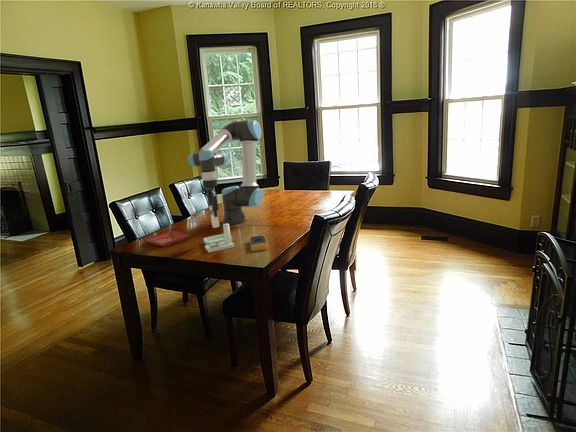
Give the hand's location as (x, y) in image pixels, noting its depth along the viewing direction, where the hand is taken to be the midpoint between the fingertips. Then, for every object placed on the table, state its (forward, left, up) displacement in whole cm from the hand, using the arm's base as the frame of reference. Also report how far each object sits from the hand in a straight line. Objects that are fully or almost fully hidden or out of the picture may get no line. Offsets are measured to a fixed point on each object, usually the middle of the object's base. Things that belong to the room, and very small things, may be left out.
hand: (215, 221), depth 206 cm
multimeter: (-16, +20, -13) cm, 29 cm away
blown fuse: (0, 0, -3) cm, 3 cm away
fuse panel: (+2, +10, -12) cm, 16 cm away
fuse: (-3, +10, -12) cm, 16 cm away
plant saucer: (+24, -22, -13) cm, 35 cm away
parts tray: (0, 0, -12) cm, 12 cm away
